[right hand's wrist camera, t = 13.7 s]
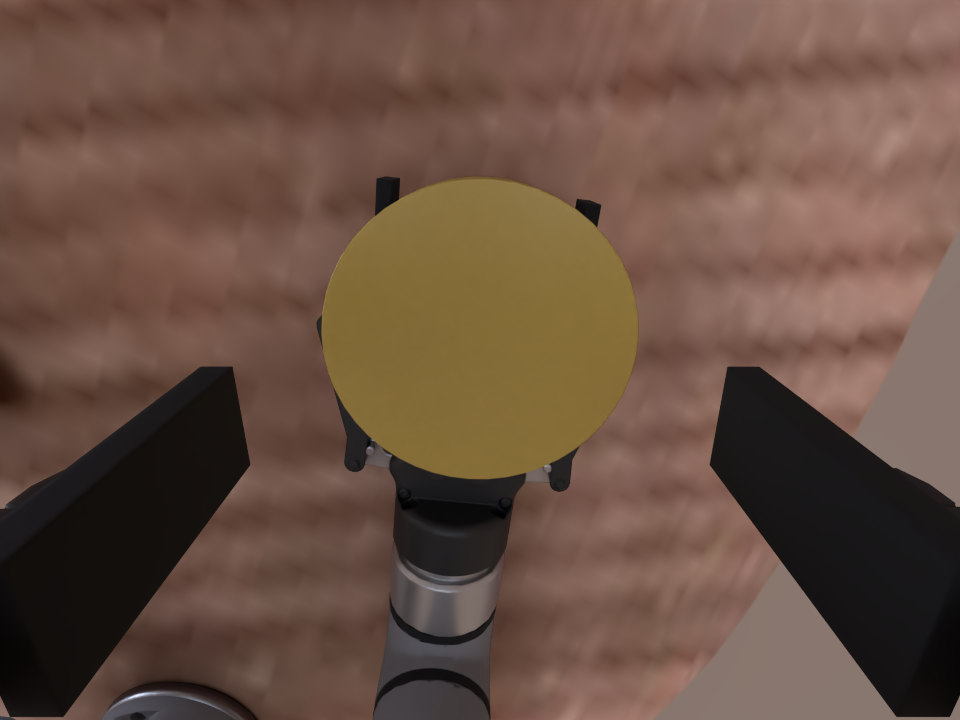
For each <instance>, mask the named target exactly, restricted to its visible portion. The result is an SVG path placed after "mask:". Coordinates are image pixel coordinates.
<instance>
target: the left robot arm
mask: <svg viewBox="0 0 960 720" xmlns="http://www.w3.org/2000/svg"><path fill="white" fill-rule="evenodd" d="M399 187H400V178H394V177H382V178H377V182H376V208H375V216H376V215H377V214H379V213H380V212H381V211H382V210H384V209H385V208H386V207H388V206H390V205H391V204H393V203H394V202H396V201H398V200H399ZM575 209H577V210H578V211H579V212H580V213H581V214H583V215H584V216H585V217H586V218H587V219H589V220H590V221H591V222H592V223H593V224H594V225H595V226H596V227H597V225H598V220H599V214H600V209H601V205H600V204H598V203H595V202H593V201H590V200H581V199H577V201H576V207H575ZM317 329H318V333H319V337H320V340H321V344H322V334H321V333H322V316H321V317H320V318H319V319H318V321H317ZM322 347H323V344H322ZM332 384H333V383H332ZM333 387H334V386H333ZM334 391H335V388H334ZM335 395H336V398H337V402H338V405H339V409H340V413H341V416H342V420H343V424H344V427H345V431H346V434H347V445H346V453H345V461H344V463H345V466H346V468H347V469H348V470H350V471H352V472H358V471H361V470H362V469H363V467H364V465H365V464H366V465H371V466H377V467H383V468H389V469H390V472H391V474H392V476H393V478H394V480H395V483H396V499H395V514H394V529H393V538H394V542H393V546H392V560H391V578H390V606H389V616H388V626H387V637H386V645H385V652H384V658H383V663H382V668H381V674H380V679H379V684H378V689H377V694H376V700H375V708H374V712H373V720H490V673H489V659H490V645H491V637H492V629H493V620H494V614H495V610H496V604H497V600H498V596H499V589H500V583H501V577H502V571H503V565H504V556H505V553H504V551H505V549H506V545H507V539H508V533H509V527H510V520H511V514H512V508H513V502H514V497H515V495H516V493H517V491H518V490H519V489H520V488H521V487H522V486H523V484H524V482H550V486H551V488H552V489H553V490H555V491H558V492H560V491H564V490H566V489H567V488H568V487H569V484H570V476H571V467H572V459H573V457H574V455H575V454H576V452H577V450H578V448H579V446H578V447H577V448H576V449H575V450H573V451H571V452H570V453H568V454H567V455H565V456H563V457H562V458H560V459H558V460H556V461H554V462H552V463H550V464H548V465H546V466H544V467H541V468H538V469H536V470H533V471H530V472H527V473H523V474H519V475H514V476H510V477H503V478H494V479H466V478H457V477H450V476H446V475H441V474H437V473H433V472H430V471H427V470H424V469H422V468H419V467H416V466H414V465H412V464H410V463H408V462H406V461H404V460H402V459H400V458H398V457H396V456H395V455H393V454H392V453H390V452H389V451H387V450H386V449H384V448H383V447H381V446H380V445H379V444H378V443H377V442H375V441H374V440H373V439H372V438H370V437H369V436H368V435H367V434H366V433H365V432H364V431H363V429H362V428H361V427H360V426H359V425H358V424H357V423H356V422H355V421H354V419H353V418H352V417H351V415H350V414H349V412H348V411H347V410H346V408H345V407H344V405H343V403H342V402H341V400H340V398H339V396H338V394H337V393H336V391H335ZM0 720H15V719H13V718H11V717H3V716H2V717H1V716H0ZM101 720H255V718H254V717H253V716H252V715H251V714H250V713H249V712H248V711H247V710H246V709H245V708H244V707H242V706H241V705H240V704H238V703H237V702H235V701H234V700H232V699H231V698H229V697H227V696H225V695H223V694H221V693H219V692H216V691H214V690H211V689H208V688H205V687H201V686H197V685H193V684H187V683H178V682H161V683H152V684H147V685H142V686H139V687H136V688H134V689H131V690H129V691H127V692H125V693H123V694H122V695H121V696H119V697H118V698H117V699H116V700H115V701H114V702H113V703H112V704H111V705H110V707H109V708H108V710H107V711H106V713H105V714H104V716H103V717H102V719H101Z"/></svg>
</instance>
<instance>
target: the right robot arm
mask: <svg viewBox="0 0 960 720" xmlns="http://www.w3.org/2000/svg"><path fill="white" fill-rule="evenodd" d="M249 466H250V460H249V455H248V449H247V444H246V438H245V433H244V428H243V422H242V417H241V411H240V406H239V400H238V395H237V389H236V384H235V378H234V373H233V367H200V368H198V369H197V370H196V371H195V372H193V373H192V374H191V375H189V376H188V377H187V378H185V379H184V380H183V381H181V382H180V383H179V384H177V385H176V386H175V387H173V388H172V389H171V390H169V391H168V392H167V393H166V394H164V395H163V396H162V397H160V398H159V399H158V400H156V401H155V402H154V403H152V404H151V405H150V406H148V407H147V408H146V409H144V410H143V411H142V412H140V413H139V414H138V415H136V416H135V417H134V418H133V419H131V420H130V421H129V422H127V423H126V424H125V425H123V426H122V427H121V428H119V429H118V430H117V431H115V432H114V433H113V434H111V435H110V436H109V437H107V438H106V439H105V440H104V441H102V442H101V443H100V444H98V445H97V446H96V447H94V448H93V449H92V450H90V451H89V452H88V453H86V454H85V455H84V456H82V457H81V458H80V459H78V460H77V461H76V462H75V463H73V464H72V465H71V466H69V467H68V468H67V469H65V470H63V471H61V472H59V473H57V474H55V475H53V476H51V477H49V478H47V479H45V480H43V481H41V482H39V483H37V484H35V485H33V486H31V487H29V488H28V489H27V490H25V491H24V492H23V493H21V494H20V495H19V496H17V497H16V498H15V499H13V500H12V501H10V502H9V503H8V504H6V507H5V509H0V696H1V698H2V701H3V703H4V705H5V707H6V709H7V711H8V713H9V715H10V717H64V715H65V714H66V713H67V711H68V710H69V709H70V707H71V706H72V705H73V703H74V702H75V701H76V699H77V698H78V696H79V695H80V694H81V692H82V691H83V690H84V688H85V687H86V686H87V684H88V683H89V682H90V680H91V679H92V678H93V676H94V675H95V674H96V672H97V671H98V670H99V668H100V667H101V665H102V664H103V663H104V661H105V660H106V659H107V657H108V656H109V655H110V653H111V652H112V651H113V649H114V648H115V647H116V645H117V644H118V643H119V641H120V640H121V639H122V637H123V636H124V634H125V633H126V632H127V630H128V629H129V628H130V626H131V625H132V624H133V622H134V621H135V620H136V618H137V617H138V616H139V614H140V613H141V612H142V610H143V609H144V607H145V606H146V605H147V603H148V602H149V601H150V599H151V598H152V597H153V595H154V594H155V593H156V591H157V590H158V589H159V587H160V586H161V585H162V583H163V582H164V581H165V579H166V578H167V576H168V575H169V574H170V572H171V571H172V570H173V568H174V567H175V566H176V564H177V563H178V562H179V560H180V559H181V558H182V556H183V555H184V554H185V552H186V551H187V549H188V548H189V547H190V545H191V544H192V543H193V541H194V540H195V539H196V537H197V536H198V535H199V533H200V532H201V531H202V529H203V528H204V527H205V525H206V524H207V523H208V521H209V520H210V518H211V517H212V516H213V514H214V513H215V512H216V510H217V509H218V508H219V506H220V505H221V504H222V502H223V501H224V500H225V498H226V497H227V496H228V494H229V493H230V491H231V490H232V489H233V487H234V486H235V485H236V483H237V482H238V481H239V479H240V478H241V477H242V475H243V474H244V473H245V471H246V470H247V469H248V467H249ZM710 466H711V467H712V469H713V470H714V471H715V473H716V474H717V475H718V477H719V478H720V479H721V481H722V482H723V483H724V485H725V486H726V487H727V489H728V490H729V492H730V493H731V494H732V496H733V497H734V498H735V500H736V501H737V502H738V504H739V505H740V506H741V508H742V509H743V510H744V512H745V513H746V514H747V516H748V517H749V518H750V520H751V521H752V523H753V524H754V525H755V527H756V528H757V529H758V531H759V532H760V533H761V535H762V536H763V537H764V539H765V540H766V541H767V543H768V544H769V545H770V547H771V548H772V549H773V551H774V552H775V554H776V555H777V556H778V558H779V559H780V560H781V562H782V563H783V564H784V566H785V567H786V568H787V570H788V571H789V572H790V574H791V575H792V576H793V578H794V579H795V580H796V582H797V583H798V585H799V586H800V587H801V589H802V590H803V591H804V593H805V594H806V595H807V597H808V598H809V599H810V601H811V602H812V603H813V605H814V606H815V607H816V609H817V610H818V611H819V613H820V614H821V616H822V617H823V618H824V620H825V621H826V622H827V624H828V625H829V626H830V628H831V629H832V630H833V632H834V633H835V634H836V636H837V637H838V638H839V640H840V641H841V643H842V644H843V645H844V647H845V648H846V649H847V651H848V652H849V653H850V655H851V656H852V657H853V659H854V660H855V661H856V663H857V664H858V665H859V667H860V668H861V670H862V671H863V672H864V674H865V675H866V676H867V678H868V679H869V680H870V682H871V683H872V684H873V686H874V687H875V688H876V690H877V691H878V692H879V694H880V695H881V696H882V698H883V699H884V701H885V702H886V703H887V705H888V706H889V707H890V709H891V710H892V711H893V713H894V714H895V715H896V717H950V715H951V713H952V711H953V709H954V707H955V705H956V703H957V700H958V698H959V696H960V507H956V506H955V503H954V502H953V501H952V500H950V499H949V498H948V497H946V496H945V495H944V494H942V493H941V492H939V491H938V490H937V489H935V488H934V487H933V486H931V485H930V484H928V483H926V482H924V481H922V480H920V479H918V478H916V477H914V476H912V475H910V474H907V473H905V472H903V471H901V470H899V469H897V468H892V467H891V466H889V465H888V464H887V463H885V462H884V461H883V460H882V459H880V458H879V457H878V456H876V455H875V454H874V453H872V452H871V451H870V450H868V449H867V448H866V447H864V446H863V445H862V444H860V443H859V442H858V441H856V440H855V439H854V438H853V437H851V436H850V435H849V434H847V433H846V432H845V431H843V430H842V429H841V428H839V427H838V426H837V425H835V424H834V423H833V422H831V421H830V420H829V419H827V418H826V417H825V416H823V415H822V414H821V413H820V412H818V411H817V410H816V409H814V408H813V407H812V406H810V405H809V404H808V403H806V402H805V401H804V400H802V399H801V398H800V397H798V396H797V395H796V394H794V393H793V392H792V391H791V390H789V389H788V388H787V387H785V386H784V385H783V384H781V383H780V382H779V381H777V380H776V379H775V378H773V377H772V376H771V375H769V374H768V373H767V372H765V371H764V370H763V369H762V368H760V367H727V373H726V378H725V384H724V389H723V395H722V400H721V406H720V411H719V417H718V422H717V427H716V433H715V438H714V444H713V449H712V455H711V460H710Z"/></svg>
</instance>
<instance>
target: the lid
mask: <svg viewBox="0 0 960 720" xmlns="http://www.w3.org/2000/svg"><path fill="white" fill-rule="evenodd" d="M321 334H322V344H323V353H324V357H325V361H326V366H327V370H328V373H329V376H330V378H331V381H332V383H333V386H334V388H335V391H336V393H337V394H338V396H339V398H340V400H341V402H342V403H343V405H344V407H345V408H346V410H347V411H348V412H349V414H350V415H351V417H352V418H353V419H354V421H355V422H356V423H357V424H358V425H359V426H360V427H361V428H362V429H363V431H364V432H365V433H366V434H367V435H368V436H369V437H370V438H372V439H373V440H374V441H375V442H377V443H378V444H379V445H380V446H381V447H383V448H384V449H386V450H387V451H389V452H390V453H392V454H393V455H395V456H396V457H398V458H400V459H402V460H404V461H406V462H408V463H410V464H412V465H414V466H416V467H419V468H422V469H424V470H427V471H430V472H433V473H437V474H441V475H446V476H450V477H457V478H466V479H494V478H503V477H510V476H514V475H519V474H523V473H527V472H530V471H533V470H536V469H538V468H541V467H544V466H546V465H548V464H550V463H552V462H554V461H556V460H558V459H560V458H562V457H563V456H565V455H567V454H568V453H570V452H571V451H573V450H575V449H576V448H577V447H578V446H580V445H581V444H582V443H583V442H585V441H586V440H587V439H588V438H590V437H591V436H592V435H593V434H594V433H595V431H596V430H597V429H598V428H599V427H600V426H601V425H602V424H603V423H604V422H605V420H606V419H607V418H608V416H609V415H610V414H611V412H612V411H613V410H614V408H615V407H616V405H617V403H618V401H619V400H620V398H621V396H622V394H623V393H624V390H625V388H626V386H627V383H628V381H629V378H630V376H631V373H632V369H633V365H634V361H635V358H636V352H637V344H638V313H637V307H636V300H635V295H634V292H633V289H632V285H631V282H630V279H629V276H628V274H627V272H626V270H625V268H624V265H623V263H622V261H621V259H620V257H619V256H618V254H617V253H616V251H615V250H614V248H613V247H612V245H611V244H610V242H609V241H608V239H607V238H606V237H605V236H604V235H603V234H602V233H601V232H600V230H599V229H598V228H597V227H596V226H595V225H594V224H593V223H592V222H591V221H590V220H589V219H587V218H586V217H585V216H584V215H583V214H581V213H580V212H579V211H578V210H577V209H575V208H573V207H572V206H570V205H569V204H567V203H566V202H564V201H562V200H561V199H559V198H558V197H556V196H554V195H552V194H550V193H548V192H546V191H543V190H541V189H539V188H537V187H535V186H532V185H529V184H525V183H522V182H519V181H515V180H511V179H505V178H498V177H480V176H470V177H463V178H455V179H449V180H445V181H441V182H438V183H434V184H431V185H428V186H426V187H423V188H421V189H419V190H416V191H414V192H412V193H410V194H408V195H406V196H404V197H403V198H401V199H399V200H398V201H396V202H394V203H393V204H391V205H390V206H388V207H386V208H385V209H384V210H382V211H381V212H380V213H379V214H377V215H376V216H375V217H374V218H373V219H371V220H370V221H369V222H368V223H367V224H366V225H365V226H364V227H363V228H362V229H361V230H360V231H359V233H358V234H357V235H356V236H355V237H354V238H353V239H352V241H351V242H350V244H349V245H348V247H347V248H346V250H345V251H344V253H343V254H342V255H341V257H340V259H339V261H338V263H337V265H336V268H335V270H334V272H333V274H332V276H331V279H330V282H329V285H328V288H327V291H326V295H325V301H324V306H323V312H322V333H321Z"/></svg>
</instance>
